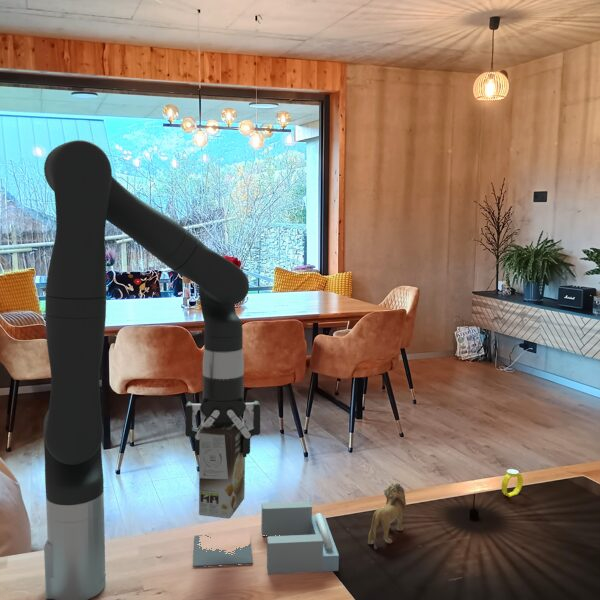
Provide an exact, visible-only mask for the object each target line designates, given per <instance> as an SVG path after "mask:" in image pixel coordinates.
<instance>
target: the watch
mask: <svg viewBox="0 0 600 600" xmlns="http://www.w3.org/2000/svg"><path fill="white" fill-rule="evenodd" d="M512 477H514V478H515V477H516V478H517V479H516V480H517V481H516V485H515V488H514V489H513V490H512V491H510V492H508V484H509V481H510V480H511V478H512ZM523 481H524V480H523V476H522V474H521V473H520V472H519V470H517V469H513V468H509V469H506V474H505V475H504V476H503V479H502V482H501V491H502V493H503V495H504V496H506V497H508V498H512V497H514V496H517V495H519V494H520V492H521V490H522V487H523V485H524V484H523V483H524V482H523Z"/></svg>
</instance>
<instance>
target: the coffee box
mask: <svg viewBox="0 0 600 600" xmlns="http://www.w3.org/2000/svg"><path fill="white" fill-rule="evenodd" d="M243 420H244V422H245V424H246V420H245V419H243ZM246 425H247V424H246ZM199 433H200V445H199V455H198V459H199V464H198V465H199V466H198V469H199V472H198V476H199V477H198V479H199V481H198V482H199V483H198V484H199V485H198V488H199V489H198V515H199V516H204V517H205V516H206V517H212V518H213V517H214V518H219V519H229V520H230V518H232V516H233V515H234V514H235V512H236V511H237V509H238V508H239V507H240V506H241V504H242V503H243V501H244V500H245V489H246V488H245V485H246V483H245V482H246V479H245V478H246V476H245V475H246V457H243V455H242V436H243V434H242V433H241V431H240V430H239V429H238V428H237V427H236V425H235V424H233V425H232V426H225V425H222V426H215V425H211V426H210V428H209V429H208V430H205V429H202V430H201V431H200V432H199Z"/></svg>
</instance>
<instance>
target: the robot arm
mask: <svg viewBox="0 0 600 600" xmlns="http://www.w3.org/2000/svg"><path fill="white" fill-rule="evenodd" d="M43 165H44V167H43V170H44V171H43V172H44V177H45V180H46V181H45V182H46V183H47V184H48V186H49V188H50V189H51V190H52V191H53V192H54V201H55V202H54V203H55V204H54V205H55V218H56V219H55V224H56V225H55V236H54V243H53V247H52V251H51V256H50V259H49V266H48V269H47V277H46V283H45V284H46V285H45V308H44V309H45V310H44V311H45V312H44V313H45V314H44V315H45V333H46V346H47V353H48V361H49V367H50V368H49V369H50V381H51V382H50V383H51V384H50V396H49V397H50V398H49V404H48V405H49V407H48V410H47V412H46V414H45V416H44V420H43V447H44V449H43V450H44V482H45V483H44V485H45V486H44V487H45V504H46V507H45V508H46V531H47V532H46V534H47V535H46V537H47V540H46V541H45V543H44V545H43V552H44V553H43V556H44V558H43V559H44V584H45V586H44V587H45V588H44V589H45V599H46V600H49V599H50V600H89V599H92V598H94V597H96V596H98V595H99V594H100V593H102V592H103V590H104V589H105V586H106V576H107V575H106V545H105V544H106V542H105V541H106V539H105V538H106V537H105V506H104V505H105V499H104V498H105V497H104V496H105V495H104V491H105V490H104V486H105V483H104V469H103V457H102V441H103V439H104V433H105V432H104V424H103V417H102V416H103V415H102V405H101V393H100V391H101V389H100V386H101V385H100V380H101V379H100V377H101V376H100V375H101V365H102V360H103V352H104V342H105V331H106V318H107V313H106V312H107V257H106V253H107V251H106V225H107V223H106V222H108V223H110V224H112V225H113V226H114V227H116V228H117V229H119V230H120V231H121V232H123V233H124V234H126V235H127V236H128V237H129V238H130V239H132V240H133V241H135V243H136V244H138V245H139V246H140V247H142V248H143V249H144V250H146V251H147V252H148V253H149V254H151V255H152V256H153V257H154V258H156V259H157V260H158V261H160V262H161V263H163V264H164V265H165V266H166V267H168V268H169V269H171V270H172V271H173V272H174V273H176V274H178V275H180V276H181V277H183V278H186V279H189V280H190V281H192V282H193V283H195V284H196V285H197V286H198V295H199V303H200V306H201V307H200V309H201V313H202V318H203V323H204V332H203V339H204V340H203V342H204V343H203V345H204V346H203V348H204V349H203V356H202V357H203V358H202V400H201V402H200V403H193V402H191V401H187V402H186V404H185V428H184V429H185V431H184V432H185V433H184V434H185V436H186V437H188V438H189V437H191V438H193V439H194V440H195V441H194V444H195V446H194V449H195V450H194V452H195V453H194V454H195V456H199V445H200V433H199V432H200V431H201V430H202V429H205V430H208V429H209V428H210V426H211V425H215V426H222V425H225V426H232V425H233V424H235V425H236V427H237V428H238V429H239V430H240V431H241V433H242V434H243V436H242V455H243V457H245V458H247V455H250V453H251V438H253V436H259V435H260V434H261V405H260V401H258V400H254V401H253V402H245V399H244V376H245V375H244V374H245V373H244V371H245V363H244V362H245V361H244V360H245V359H244V353H243V342H244V341H243V339H244V338H243V337H244V336H243V332H244V331H243V323H242V320H241V318H240V317H239V316H238V315H237V312H236V307H235V305H237V304H239V303H241V302H243V301H244V300H245V298H247V296H248V294H249V290H250V283H249V280H248V277H247V275H246V274H245V272H244V271H243V270H242V269H241V268H240V267H239V266H237V265H236V264H235V263H233V262H231V261H230V260H228V259H227V258H225V257H224V256H222V255H221V254H219V253H218V252H216V251H214V250H212V248H209V247H208V246H206V244H204V243H203V242H202V241H201V240H200V239H199V238H197V236H195V235H194V234H193V233H191V232H190V231H189V230H188V229H186V228H185V227H183V226H182V225H181V224H180V223H178V221H175V220H174V219H173V218H171V217H169V216H168V215H166V214H164V213H163V212H161V211H160V210H158V209H156V208H155V207H153V206H152V205H150V204H148V203H147V202H145V201H144V200H142V199H141V198H139V197H138V196H136V195H135V194H133V193H132V192H131V191H130V190H128V189H127V188H126V187H124V186H123V185H122V184H121V183H120V182H119V181H118V180H117V179H116V178H115V177H114V176H113V172H112V166H111V162H110V159H109V158H108V155H107V154H106V153H105V151H104V150H103V149H102V148H101V147H100V146H99V145H97V144H95V143H94V142H92V141H90V140H83V139H75V140H71V141H67V142H65V143H62V144H60V145H58V146H57V147H55V148H53V149H52V150H51V151H50V152H49V153H48V154H47V157H46V158H45V161H44V164H43ZM246 410H248V413H249V414H250V415H252V420H253V421H252V426H251V427H249V426H248V425H247V424H245V422H244V420H245V419H243V418H242V415H243V414H244V412H245V411H246ZM198 411H200V412H201V413H202V414H203V415H204V418H203V420H202V421H201V422H200V425H199V426H198V427H197V428H195V427H193V418H194V417H193V416H196V415H197V414H198Z"/></svg>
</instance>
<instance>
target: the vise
mask: <svg viewBox="0 0 600 600" xmlns="http://www.w3.org/2000/svg"><path fill="white" fill-rule="evenodd" d="M260 526H261V531H262V532H261V536H262V535H265V536H266V535H267V536H268V537H266V541H267V542H266V570H267V575H284V574H286V575H287V574H303V573H318V572H319V573H321V572H322V573H323V572H339V567H340V566H339V565H340V564H339V563H340V562H339V561H340V560H339V559H340V555H339V551H338V549H337V547H336V544H335V541H334V538H333V536H332V533H331V530H330V528H329V524H328V521H327V519H326V516H325V514H322V513H320V512H318V513H315V514H313V506H312V503H311V501H289V502H286V501H283V502H262V503H261V524H260ZM275 535H276V536H275ZM279 535H280V536H279Z"/></svg>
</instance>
